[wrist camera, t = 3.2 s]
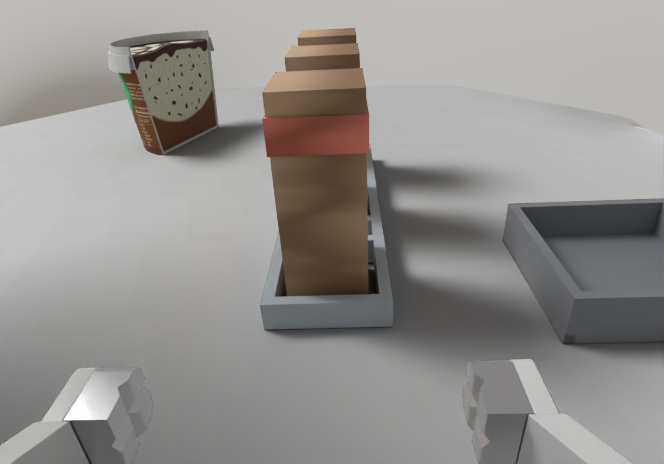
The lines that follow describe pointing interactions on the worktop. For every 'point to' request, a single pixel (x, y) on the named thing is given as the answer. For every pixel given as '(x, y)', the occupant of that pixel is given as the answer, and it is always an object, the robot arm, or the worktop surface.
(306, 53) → the plain cartridge
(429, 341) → the worktop surface
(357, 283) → the block
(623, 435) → the worktop surface
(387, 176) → the worktop surface
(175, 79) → the food container
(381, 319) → the holder
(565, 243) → the tray
